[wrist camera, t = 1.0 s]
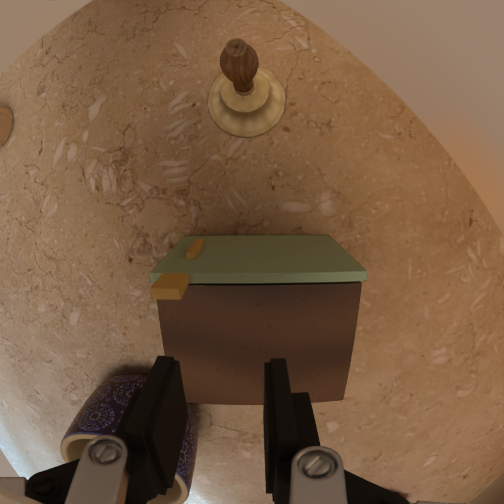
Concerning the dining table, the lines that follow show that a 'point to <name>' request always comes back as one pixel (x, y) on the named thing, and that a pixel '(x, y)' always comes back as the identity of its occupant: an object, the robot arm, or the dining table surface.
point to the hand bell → (245, 93)
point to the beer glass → (5, 123)
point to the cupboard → (261, 338)
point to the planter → (107, 419)
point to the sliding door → (252, 262)
